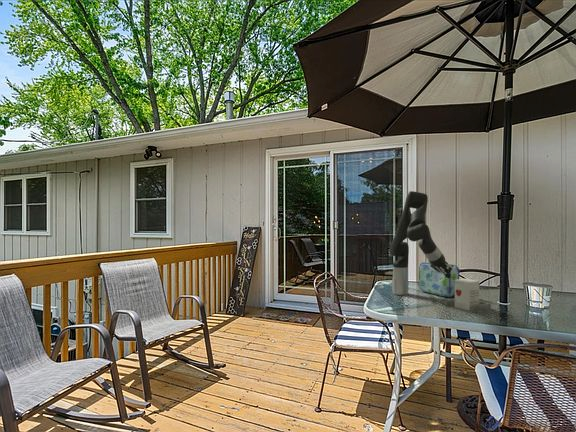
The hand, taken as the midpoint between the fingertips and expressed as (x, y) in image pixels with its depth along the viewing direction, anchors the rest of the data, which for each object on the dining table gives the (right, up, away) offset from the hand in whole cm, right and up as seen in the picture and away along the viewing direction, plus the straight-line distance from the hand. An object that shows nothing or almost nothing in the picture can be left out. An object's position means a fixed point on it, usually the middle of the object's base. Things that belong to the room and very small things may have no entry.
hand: (449, 276), depth 180 cm
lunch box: (+12, -18, +40) cm, 46 cm away
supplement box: (+13, -18, +7) cm, 23 cm away
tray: (+13, -18, +8) cm, 24 cm away
